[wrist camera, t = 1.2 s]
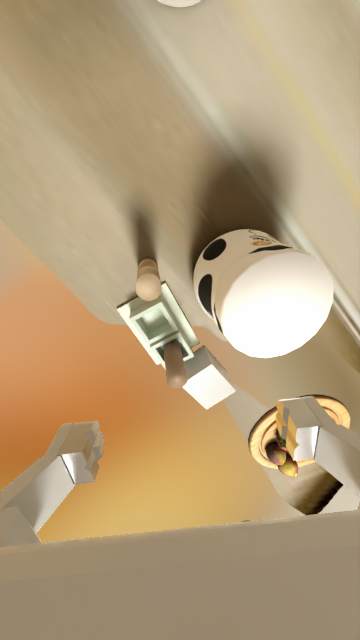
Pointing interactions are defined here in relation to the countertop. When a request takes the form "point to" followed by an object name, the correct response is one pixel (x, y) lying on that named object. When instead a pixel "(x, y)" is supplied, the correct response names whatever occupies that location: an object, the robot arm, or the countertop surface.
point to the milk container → (262, 292)
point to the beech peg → (148, 280)
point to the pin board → (162, 333)
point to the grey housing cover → (207, 378)
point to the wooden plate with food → (272, 446)
